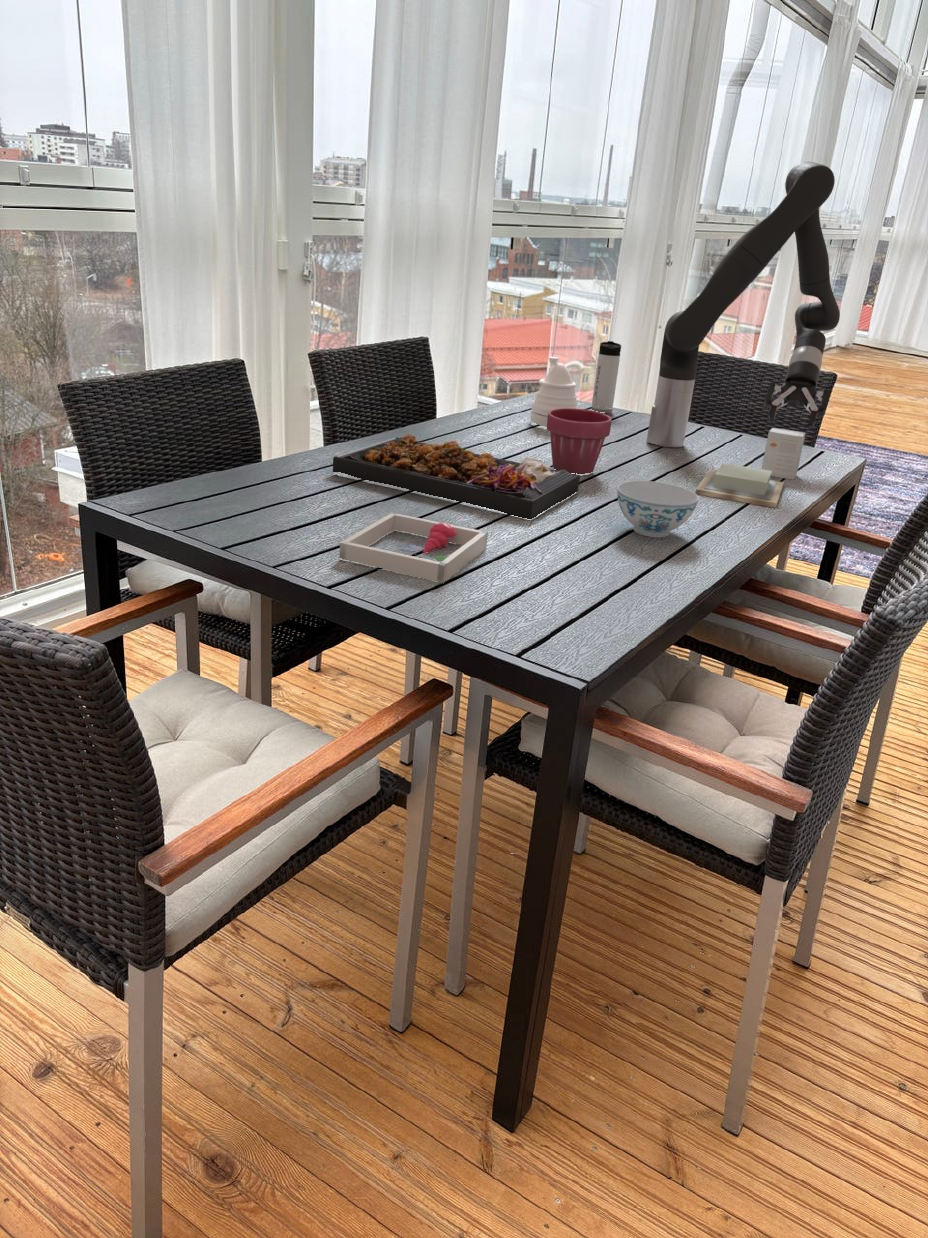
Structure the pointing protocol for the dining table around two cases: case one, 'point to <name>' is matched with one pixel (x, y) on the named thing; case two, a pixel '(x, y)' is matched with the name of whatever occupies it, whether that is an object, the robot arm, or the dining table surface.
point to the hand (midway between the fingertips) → (790, 423)
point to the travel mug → (606, 376)
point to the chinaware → (655, 506)
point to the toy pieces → (437, 539)
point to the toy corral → (410, 565)
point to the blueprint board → (764, 500)
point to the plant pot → (577, 438)
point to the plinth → (742, 479)
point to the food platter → (461, 475)
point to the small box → (783, 452)
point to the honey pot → (554, 393)
